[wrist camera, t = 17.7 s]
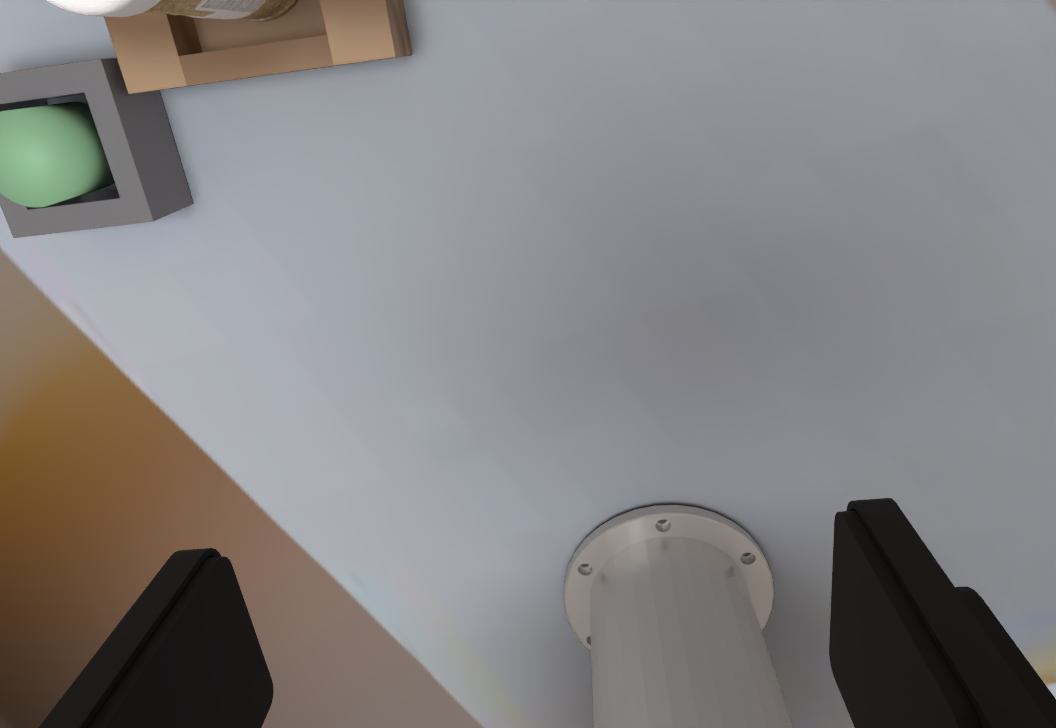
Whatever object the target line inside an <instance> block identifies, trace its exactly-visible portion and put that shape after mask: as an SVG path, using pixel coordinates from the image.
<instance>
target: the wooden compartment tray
mask: <svg viewBox="0 0 1056 728" xmlns="http://www.w3.org/2000/svg"><path fill="white" fill-rule="evenodd" d="M104 18H105V21H106V25H107V28H108V31H109V34H110V37H111V40H112V43H113V47H114V50H115V53H116V56H117V59H118V62H119V65H120V69H121V72H122V75H123V78H124V81H125V84H126V88H127V91H128V94H132V93H139V92H147V91H155V90H163V89H170V88H178V87H185V86H192V85H199V84H206V83H214V82H221V81H228V80H235V79H242V78H250V77H257V76H264V75H271V74H279V73H286V72H293V71H300V70H307V69H315V68H322V67H329V66H336V65H344V64H351V63H358V62H365V61H372V60H380V59H387V58H394V57H401V56H408V55H412V51H411V46H410V40H409V34H408V28H407V22H406V17H405V11H404V5H403V0H296V1H295V3H294V4H293V6H291V7H290V8H289V9H288V11H286V12H285V13H284V14H282V15H281V16H279V17H277V18H274V19H272V20H269V21H263V22H252V21H248V20H244V19H241V18H238V19H209V18H195V17H190V16H185V15H171V14H159V13H145V12H143V13H140V14H136V15H132V16H129V17H104Z"/></svg>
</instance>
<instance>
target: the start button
mask: <svg viewBox="0 0 1056 728" xmlns="http://www.w3.org/2000/svg"><path fill="white" fill-rule="evenodd" d="M113 183H115V181H114V178H113V175H112V172H111V169H110V166H109V163H108V160H107V158H106V155H105V152H104V149H103V146H102V143H101V140H100V137H99V134H98V131H97V128H96V125H95V122H94V119H93V116H92V113H91V110H90V107H89V104H86V103H82V102H68V103H60V104H53V105H45V106H37V107H30V108H22V109H14V110H7V111H1V112H0V193H1V194H2V195H3V196H5V197H6V198H8V199H9V200H11V201H13V202H15V203H17V204H20V205H23V206H27V207H45V206H49V205H52V204H55V203H58V202H61V201H64V200H67V199H71V198H74V197H77V196H80V195H83V194H86V193H89V192H92V191H95V190H98V189H101V188H105V187H107V186H110V185H112V184H113Z"/></svg>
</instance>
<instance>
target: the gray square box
mask: <svg viewBox="0 0 1056 728" xmlns="http://www.w3.org/2000/svg"><path fill="white" fill-rule="evenodd" d="M78 94H85V96H86V99H87V102H88V104H89V107H90V110H91V113H92V116H93V119H94V122H95V125H96V128H97V131H98V134H99V137H100V140H101V143H102V146H103V149H104V152H105V155H106V158H107V160H108V163H109V166H110V169H111V172H112V175H113V178H114V181H115V184H116V187H117V189H110V190H102V191H94V192H89V193H86V194H83V195H80V196H77V197H74V198H71V199H67V200H64V201H61V202H58V203H55V204H52V205H49V206H45V207H27V206H23V205H20V204H17V203H15V202H13V201H11V200H9V199H8V198H6V197H5V196H3V195H2V194H1V193H0V206H1V208H2V211H3V213H4V215H5V218H6V220H7V223H8V225H9V228H10V230H11V233H12V235H13V238H19V237H27V236H35V235H44V234H52V233H60V232H69V231H77V230H85V229H93V228H102V227H110V226H118V225H127V224H135V223H143V222H152V221H155V220H158V219H160V218H162V217H164V216H167V215H169V214H171V213H173V212H176V211H178V210H180V209H182V208H185V207H187V206H189V205H192V204H193V200H192V197H191V194H190V190H189V187H188V184H187V180H186V177H185V174H184V171H183V167H182V164H181V161H180V157H179V154H178V151H177V147H176V144H175V141H174V137H173V134H172V131H171V127H170V124H169V121H168V118H167V114H166V111H165V108H164V104H163V101H162V98H161V94H160V91H159V90H155V91H147V92H139V93H132V94H128V91H127V88H126V84H125V81H124V78H123V75H122V72H121V69H120V65H119V62H118V59H117V58H110V59H97V60H90V61H83V62H76V63H69V64H62V65H55V66H48V67H41V68H34V69H27V70H21V71H14V72H7V73H0V112H1V111H7V110H14V109H22V108H30V107H37V106H45V105H47V102H46V100H45V99H49V98H57V97H64V96H71V95H78Z"/></svg>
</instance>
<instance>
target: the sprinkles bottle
mask: <svg viewBox="0 0 1056 728" xmlns="http://www.w3.org/2000/svg"><path fill="white" fill-rule="evenodd" d="M47 1H48V2H50V3H51V4H53V5H55V6H57V7H59V8H62V9H64V10H67V11H70V12H73V13H77V14H83V15H90V16H102V17H129V16H132V15H136V14H140V13H143V12H145V13H159V14H171V15H185V16H190V17H195V18H209V19H238V18H241V19H244V20H248V21H252V22H263V21H269V20H272V19H274V18H277V17H279V16H281V15H282V14H284V13H285V12H286V11H288V9H289V8H290V7H291V6H293V4H294V3H295V1H296V0H47Z"/></svg>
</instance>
